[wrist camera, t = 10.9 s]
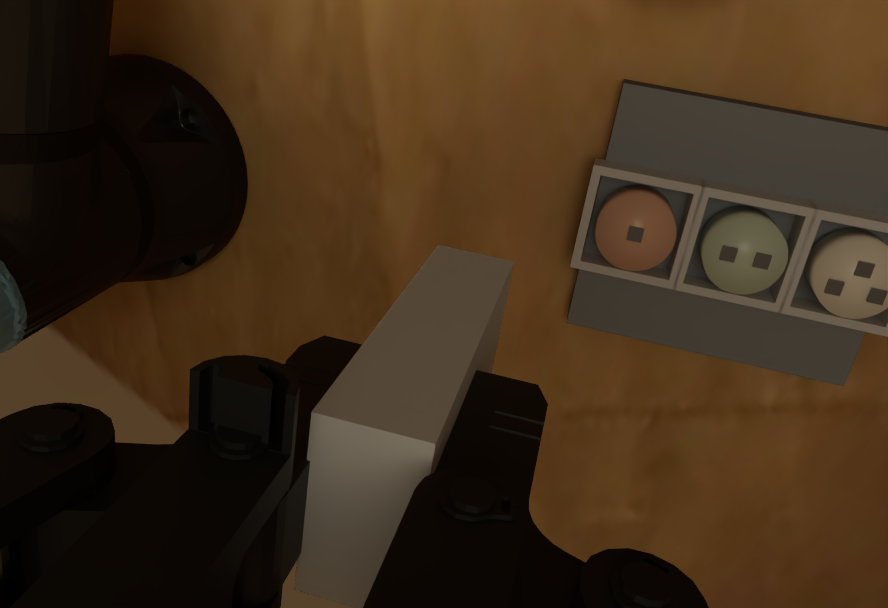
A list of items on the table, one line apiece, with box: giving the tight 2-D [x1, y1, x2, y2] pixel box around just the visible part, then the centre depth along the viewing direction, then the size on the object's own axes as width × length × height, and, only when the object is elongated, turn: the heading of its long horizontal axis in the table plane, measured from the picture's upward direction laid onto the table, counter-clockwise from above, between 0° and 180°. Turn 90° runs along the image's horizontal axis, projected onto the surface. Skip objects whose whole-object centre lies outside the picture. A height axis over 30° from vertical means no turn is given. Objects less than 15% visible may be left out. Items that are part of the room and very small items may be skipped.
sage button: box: [699, 206, 788, 294], centre depth 44 cm, size 4×4×3 cm
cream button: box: [805, 228, 888, 319], centre depth 43 cm, size 4×4×3 cm
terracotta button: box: [595, 185, 676, 271], centre depth 45 cm, size 4×4×3 cm
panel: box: [567, 79, 888, 386], centre depth 45 cm, size 18×15×4 cm
